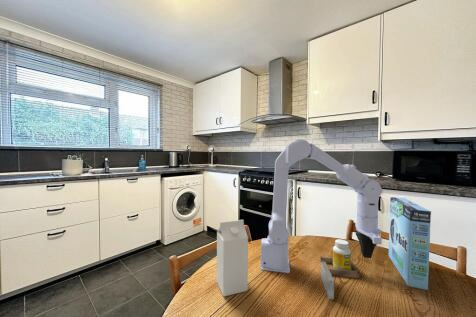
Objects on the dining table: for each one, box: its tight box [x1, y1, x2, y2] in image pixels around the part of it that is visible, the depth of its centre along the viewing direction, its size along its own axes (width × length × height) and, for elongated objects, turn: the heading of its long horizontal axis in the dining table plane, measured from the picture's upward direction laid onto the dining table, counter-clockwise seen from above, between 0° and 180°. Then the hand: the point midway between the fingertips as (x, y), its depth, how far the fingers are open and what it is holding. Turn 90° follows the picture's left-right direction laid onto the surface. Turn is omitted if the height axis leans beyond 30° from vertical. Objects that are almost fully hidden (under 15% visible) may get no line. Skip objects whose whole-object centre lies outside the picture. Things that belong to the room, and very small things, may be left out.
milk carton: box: [216, 219, 249, 297], centre depth 58 cm, size 7×7×19 cm
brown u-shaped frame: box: [319, 255, 361, 280], centre depth 67 cm, size 10×8×2 cm
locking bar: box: [320, 262, 335, 301], centre depth 57 cm, size 1×10×5 cm, turn 168°
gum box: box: [388, 197, 432, 291], centre depth 66 cm, size 20×5×23 cm, turn 157°
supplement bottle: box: [332, 238, 352, 270], centre depth 67 cm, size 5×5×10 cm
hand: (366, 256), depth 65 cm, fingers closed
